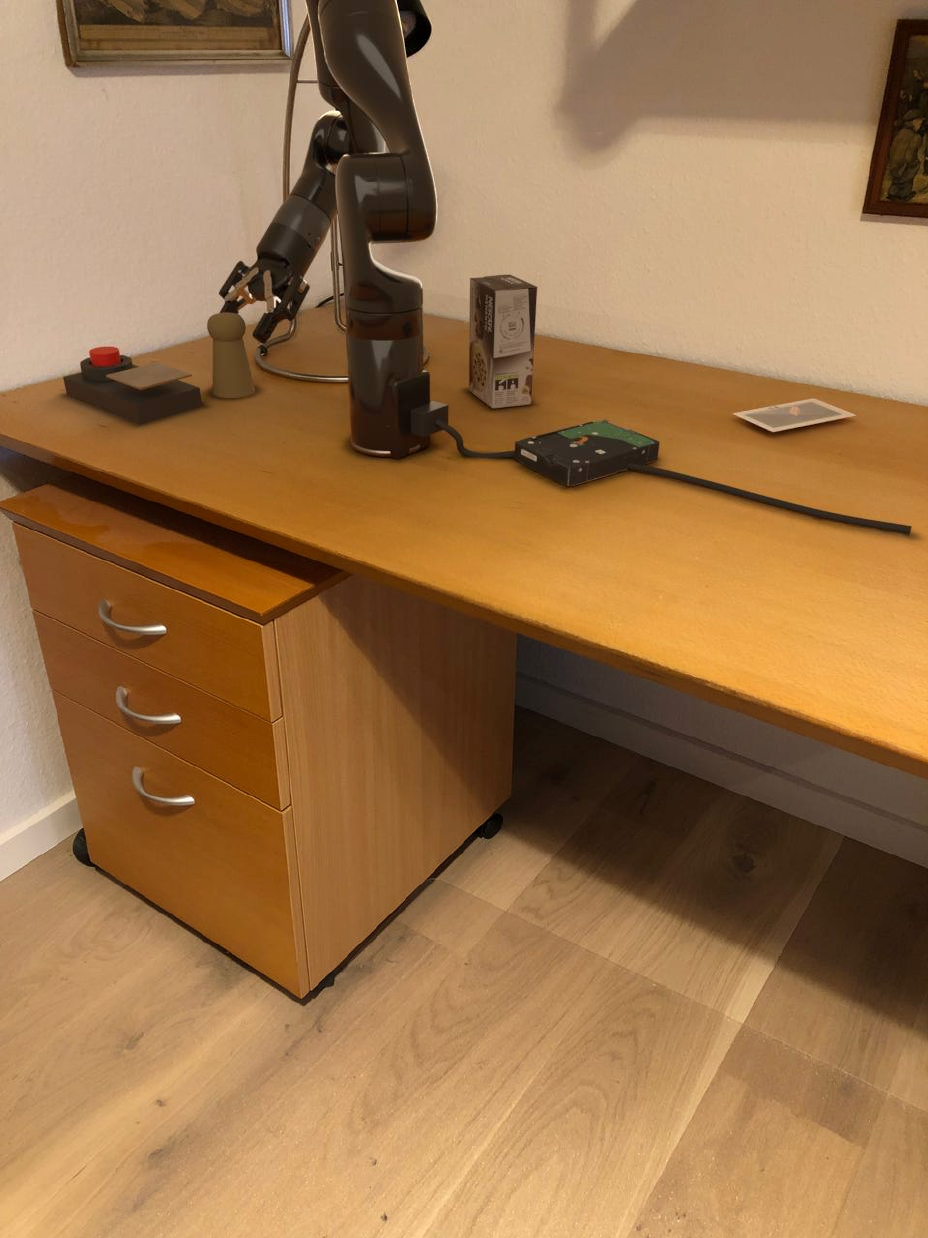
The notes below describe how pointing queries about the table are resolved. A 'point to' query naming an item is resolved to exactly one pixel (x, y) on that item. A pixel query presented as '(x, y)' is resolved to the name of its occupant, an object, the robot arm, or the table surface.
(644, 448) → the disk drive
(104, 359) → the button
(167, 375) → the plate
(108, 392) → the machine
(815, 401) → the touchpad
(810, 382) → the table surface
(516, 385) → the coffee box
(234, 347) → the olive pawn piece
